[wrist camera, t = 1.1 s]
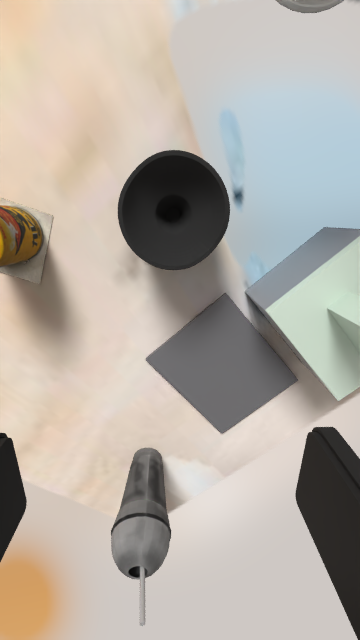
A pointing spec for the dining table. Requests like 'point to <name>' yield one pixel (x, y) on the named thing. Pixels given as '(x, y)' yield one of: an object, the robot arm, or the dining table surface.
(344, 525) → the robot arm
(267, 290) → the tub
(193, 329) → the dark grey flat plate
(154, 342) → the dining table surface
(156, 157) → the pen holder
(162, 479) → the beverage cup
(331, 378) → the green slab
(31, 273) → the condiment
